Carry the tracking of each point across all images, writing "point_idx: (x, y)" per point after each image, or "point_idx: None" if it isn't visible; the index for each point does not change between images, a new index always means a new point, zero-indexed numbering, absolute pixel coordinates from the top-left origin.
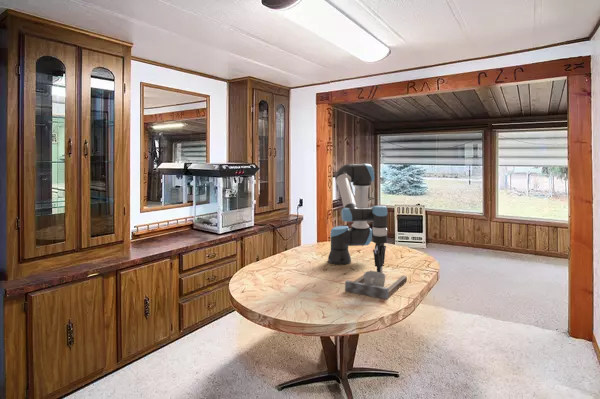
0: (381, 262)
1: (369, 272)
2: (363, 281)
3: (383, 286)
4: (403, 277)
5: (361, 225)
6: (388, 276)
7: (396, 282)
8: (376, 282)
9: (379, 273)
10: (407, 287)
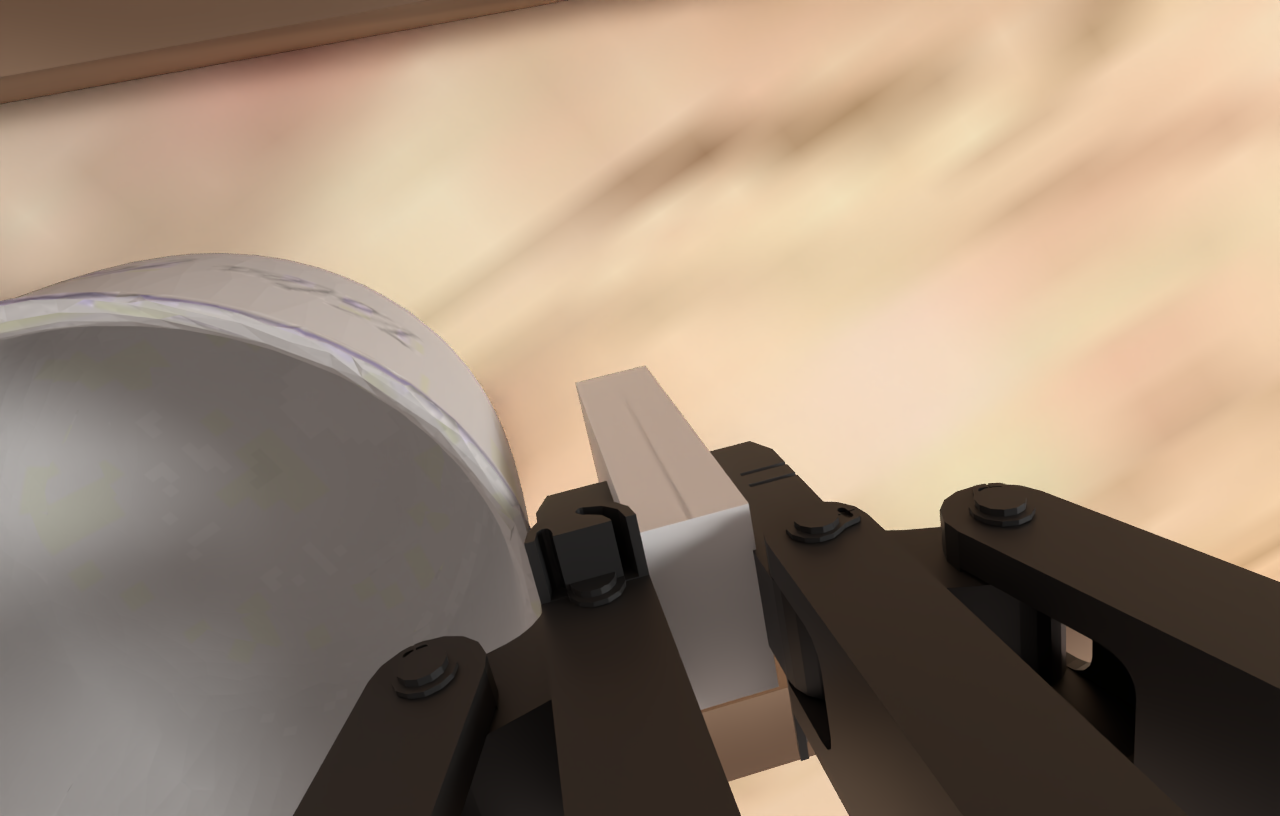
0: (838, 776)
1: (282, 350)
2: (430, 18)
3: (361, 676)
4: (1069, 648)
5: None
6: (1179, 221)
7: (713, 739)
8: (33, 773)
9: (518, 599)
10: (794, 783)
